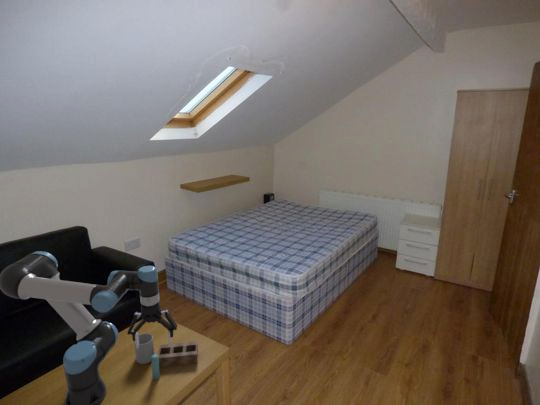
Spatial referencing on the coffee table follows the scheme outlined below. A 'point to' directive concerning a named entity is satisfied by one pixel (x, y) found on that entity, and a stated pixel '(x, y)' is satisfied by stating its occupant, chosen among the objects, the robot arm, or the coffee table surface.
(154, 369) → the peg
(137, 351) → the mug
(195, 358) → the hole block
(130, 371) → the coffee table surface
